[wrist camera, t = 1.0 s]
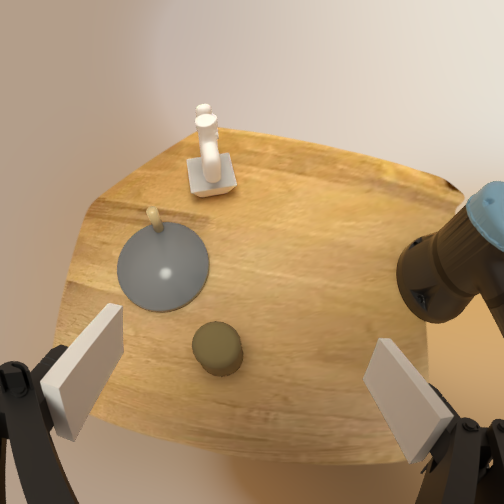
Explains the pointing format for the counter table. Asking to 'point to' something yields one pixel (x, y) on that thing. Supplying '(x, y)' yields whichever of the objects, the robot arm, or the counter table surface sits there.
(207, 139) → the figurine
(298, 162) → the counter table surface
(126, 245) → the coaster plate
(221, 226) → the counter table surface
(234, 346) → the brown rounded upright piece
